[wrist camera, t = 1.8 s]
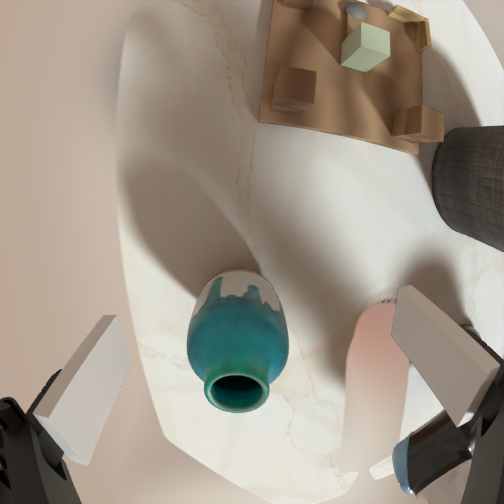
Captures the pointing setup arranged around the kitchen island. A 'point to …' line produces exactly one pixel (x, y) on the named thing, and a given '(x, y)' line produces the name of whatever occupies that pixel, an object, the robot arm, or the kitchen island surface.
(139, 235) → the kitchen island surface
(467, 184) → the planter
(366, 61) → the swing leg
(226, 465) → the kitchen island surface
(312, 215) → the kitchen island surface
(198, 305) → the vase
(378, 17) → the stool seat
